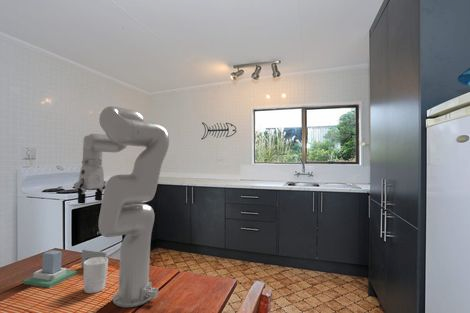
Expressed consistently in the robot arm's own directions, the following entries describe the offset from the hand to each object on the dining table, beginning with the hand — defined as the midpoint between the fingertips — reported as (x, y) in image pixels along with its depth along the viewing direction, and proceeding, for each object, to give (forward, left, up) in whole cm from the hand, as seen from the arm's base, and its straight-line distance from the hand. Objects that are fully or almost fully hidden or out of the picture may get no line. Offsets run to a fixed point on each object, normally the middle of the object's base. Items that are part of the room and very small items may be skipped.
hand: (90, 201), depth 111 cm
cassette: (-4, +1, -29) cm, 29 cm away
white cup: (-18, +16, -28) cm, 37 cm away
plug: (+4, +14, -27) cm, 31 cm away
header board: (+4, +14, -28) cm, 32 cm away
